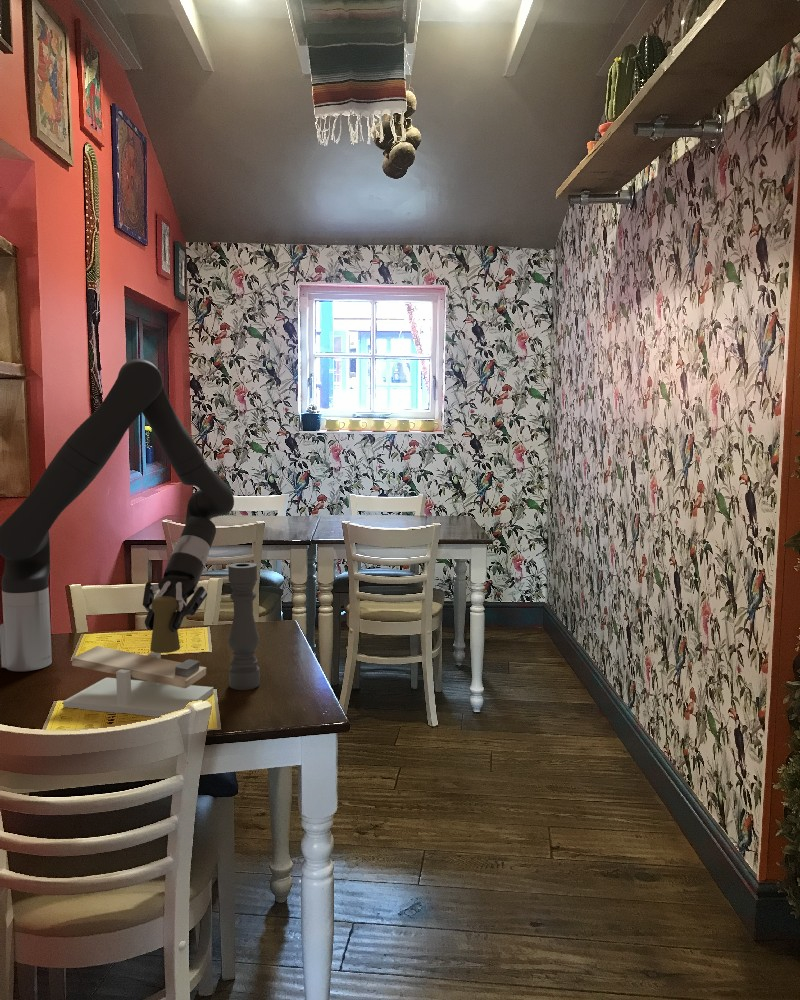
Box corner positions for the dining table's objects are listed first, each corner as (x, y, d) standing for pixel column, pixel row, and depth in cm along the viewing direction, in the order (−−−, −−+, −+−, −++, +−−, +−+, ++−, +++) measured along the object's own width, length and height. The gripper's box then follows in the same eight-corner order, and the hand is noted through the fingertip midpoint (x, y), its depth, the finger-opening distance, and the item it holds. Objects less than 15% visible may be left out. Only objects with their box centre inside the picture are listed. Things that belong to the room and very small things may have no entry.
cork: (171, 654, 162) (171, 601, 161) (144, 651, 164) (143, 599, 162) (185, 645, 168) (184, 594, 167) (159, 643, 169) (158, 592, 168)
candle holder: (230, 691, 160) (227, 568, 157) (228, 681, 166) (226, 563, 163) (261, 688, 162) (259, 567, 159) (258, 678, 167) (256, 561, 165)
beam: (71, 669, 153) (72, 649, 152) (96, 657, 160) (97, 638, 160) (185, 692, 148) (187, 672, 147) (205, 678, 155) (207, 659, 155)
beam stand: (63, 707, 151) (61, 668, 150) (106, 683, 164) (105, 647, 163) (178, 719, 145) (177, 678, 144) (213, 693, 159) (212, 656, 158)
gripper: (151, 549, 173) (121, 617, 162) (212, 553, 169) (185, 622, 159) (164, 568, 178) (136, 635, 168) (223, 572, 175) (198, 641, 165)
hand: (160, 628), depth 164 cm, fingers closed on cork, 4 cm apart
